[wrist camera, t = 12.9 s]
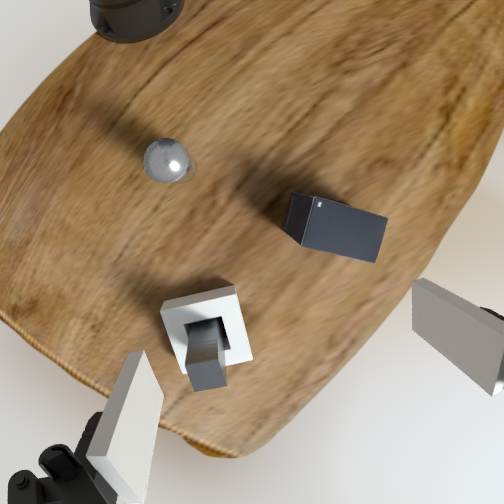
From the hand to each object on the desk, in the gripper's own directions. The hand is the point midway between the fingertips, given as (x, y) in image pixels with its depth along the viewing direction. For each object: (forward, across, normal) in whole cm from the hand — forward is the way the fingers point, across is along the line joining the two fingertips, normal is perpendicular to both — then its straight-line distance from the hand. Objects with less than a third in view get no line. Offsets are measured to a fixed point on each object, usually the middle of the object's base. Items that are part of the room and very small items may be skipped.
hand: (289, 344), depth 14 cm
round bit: (+33, -6, +11) cm, 35 cm away
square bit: (+33, -8, -13) cm, 36 cm away
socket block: (+33, -8, -13) cm, 36 cm away
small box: (+33, +12, -1) cm, 35 cm away
